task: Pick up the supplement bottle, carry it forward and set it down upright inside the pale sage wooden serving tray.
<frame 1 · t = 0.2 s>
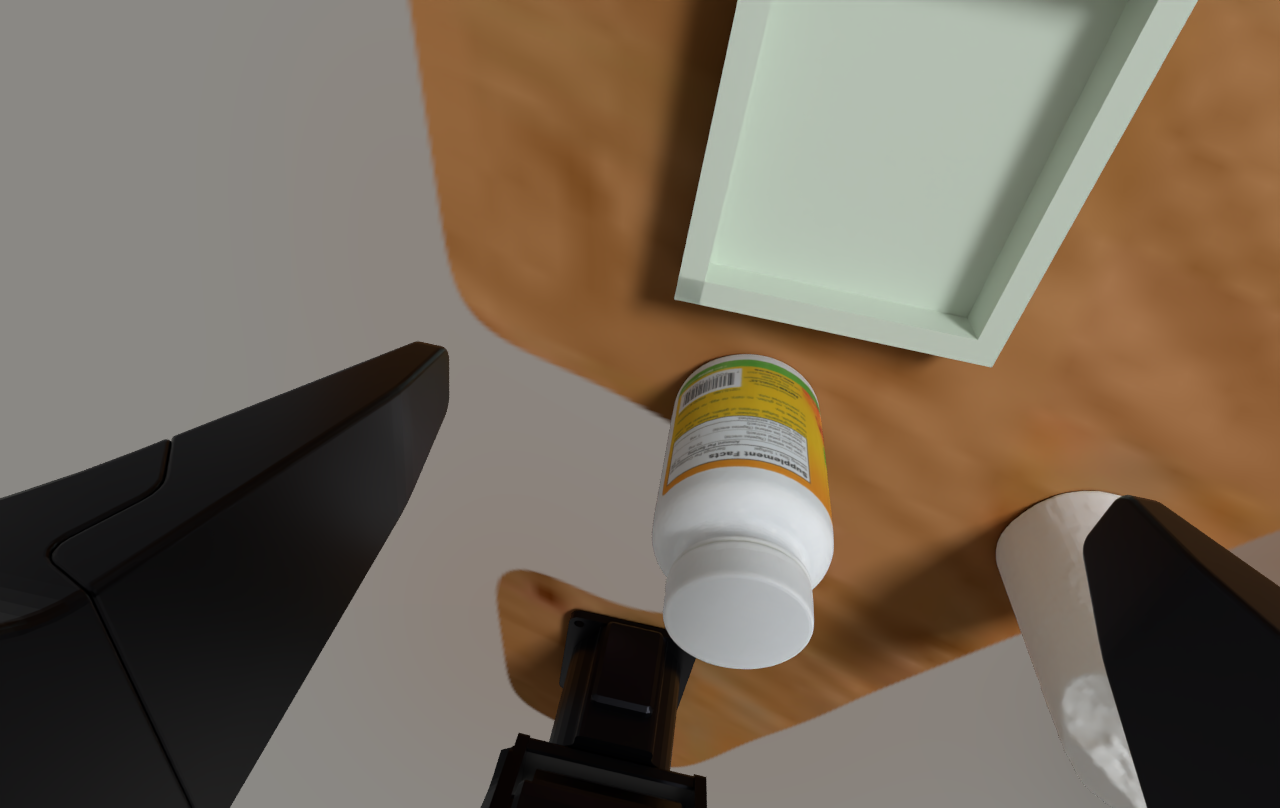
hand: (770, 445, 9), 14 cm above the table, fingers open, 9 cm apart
roll: (1070, 541, 28), on the table
supplement bottle: (746, 407, 26), on the table
tray: (888, 134, 20), on the table
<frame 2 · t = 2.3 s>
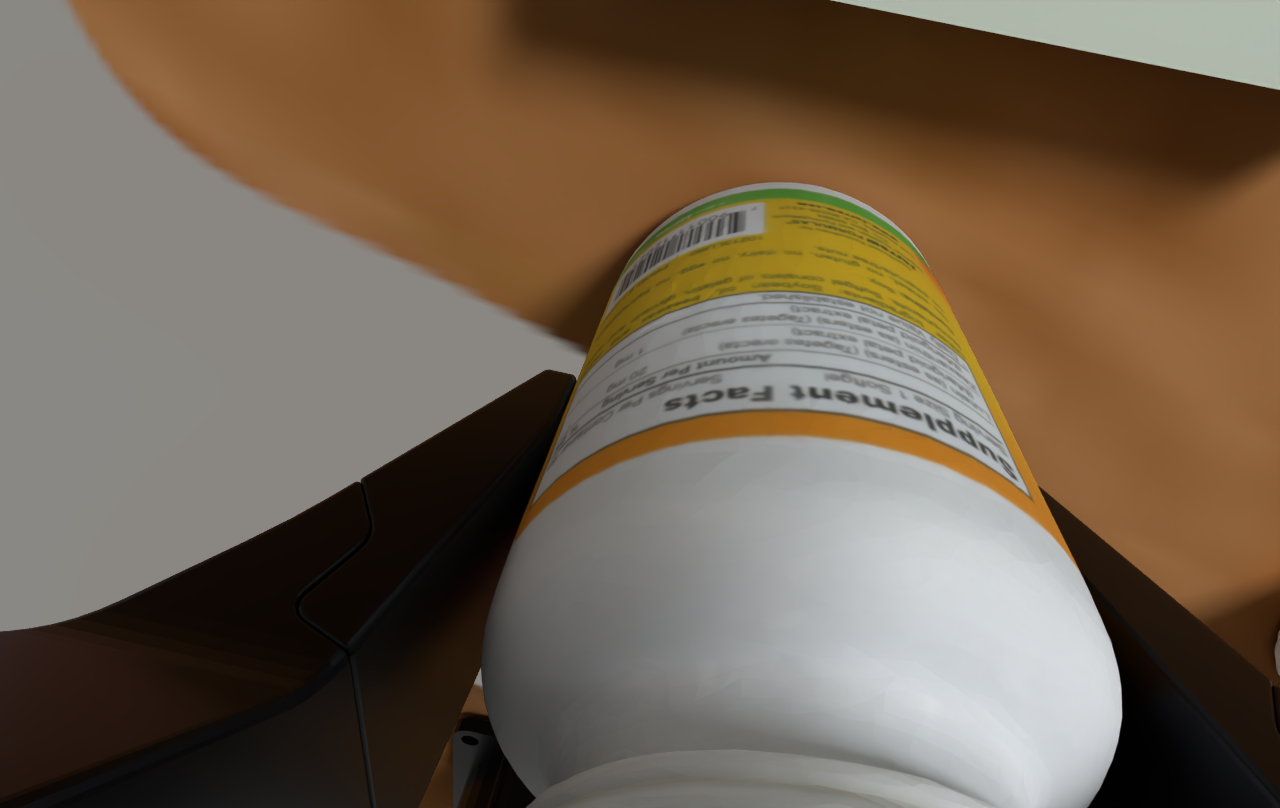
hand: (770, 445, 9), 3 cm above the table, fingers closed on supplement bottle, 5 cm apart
supplement bottle: (768, 328, 12), on the table, touching gripper
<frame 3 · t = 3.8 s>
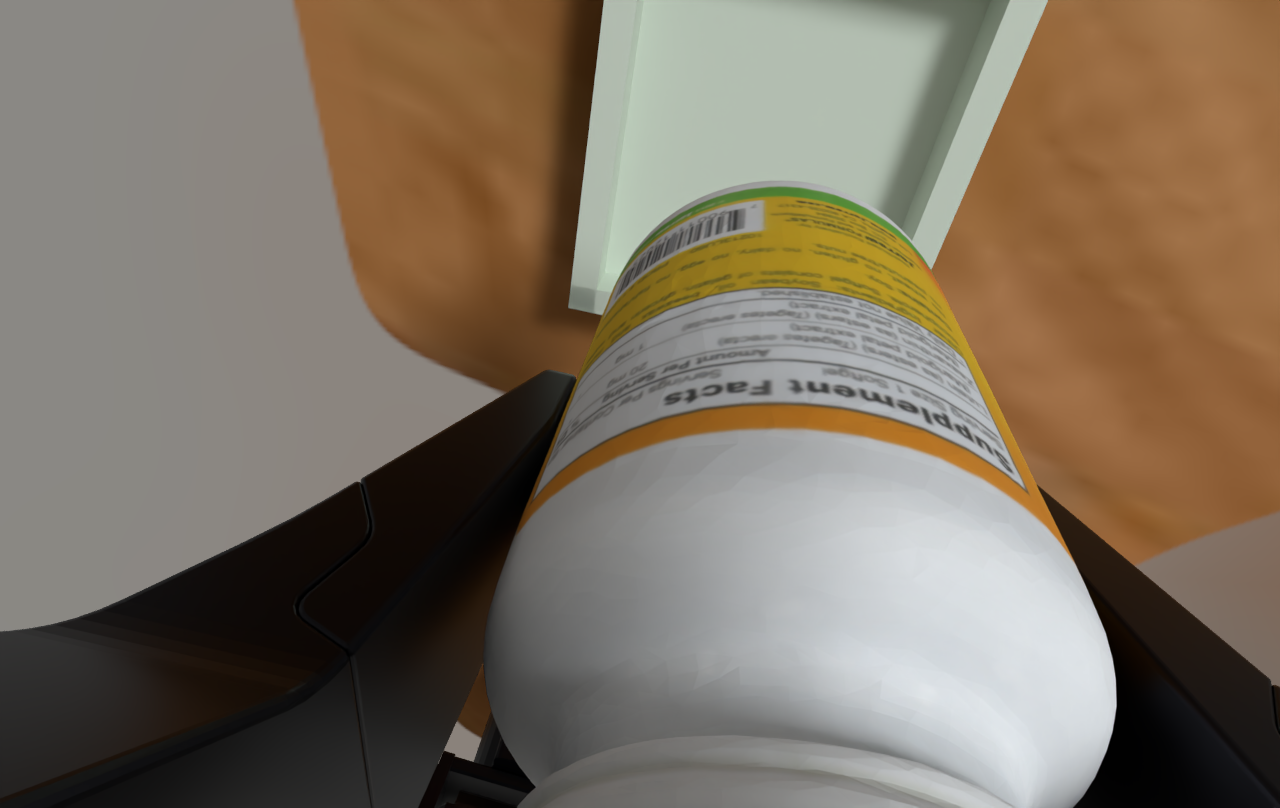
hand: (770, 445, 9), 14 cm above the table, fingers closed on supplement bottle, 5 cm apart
supplement bottle: (767, 326, 12), point 10 cm above the table, touching gripper
tray: (772, 144, 20), on the table
when the fingers open (5 cm above the table, at t = 5.7 s): supplement bottle drops 2 cm, resting on tray.
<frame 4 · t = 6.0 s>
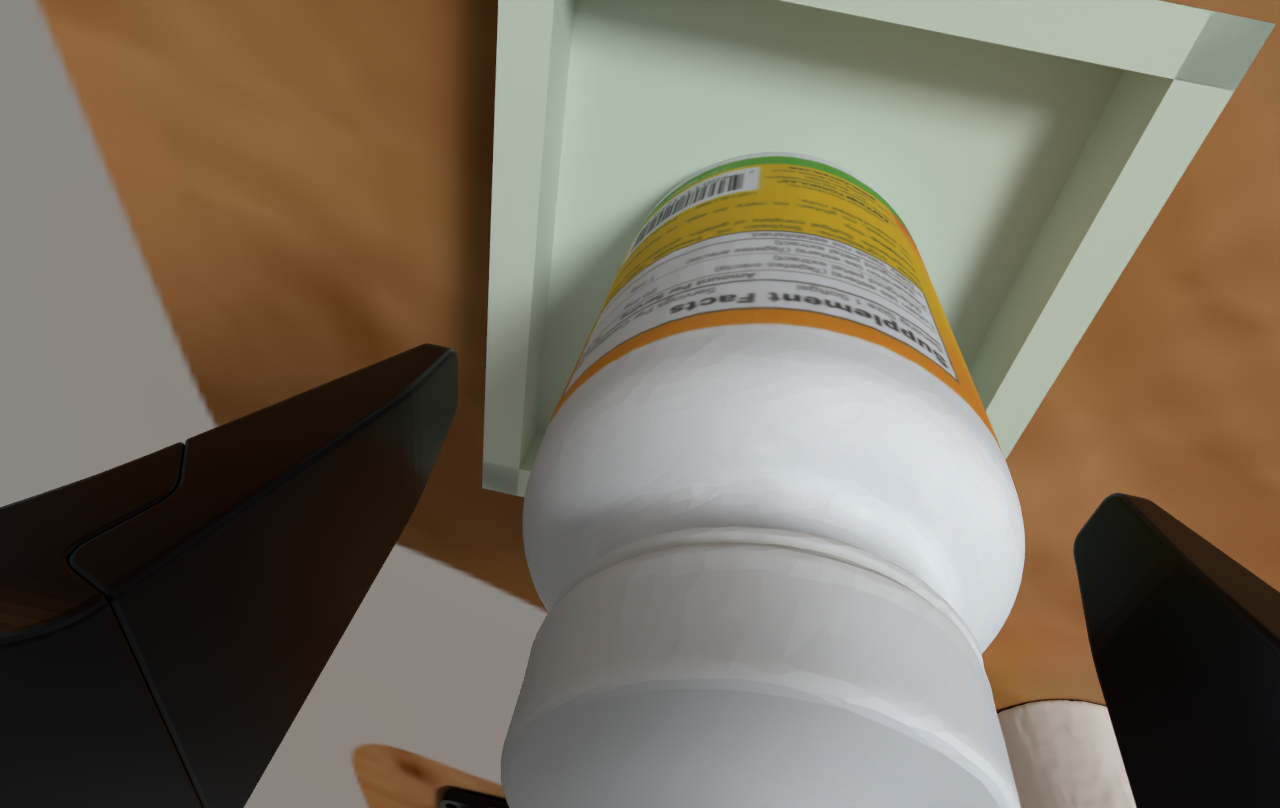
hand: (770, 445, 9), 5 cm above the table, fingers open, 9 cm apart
roll: (1049, 748, 21), on the table
supplement bottle: (767, 286, 13), resting on tray
tray: (768, 272, 14), on the table
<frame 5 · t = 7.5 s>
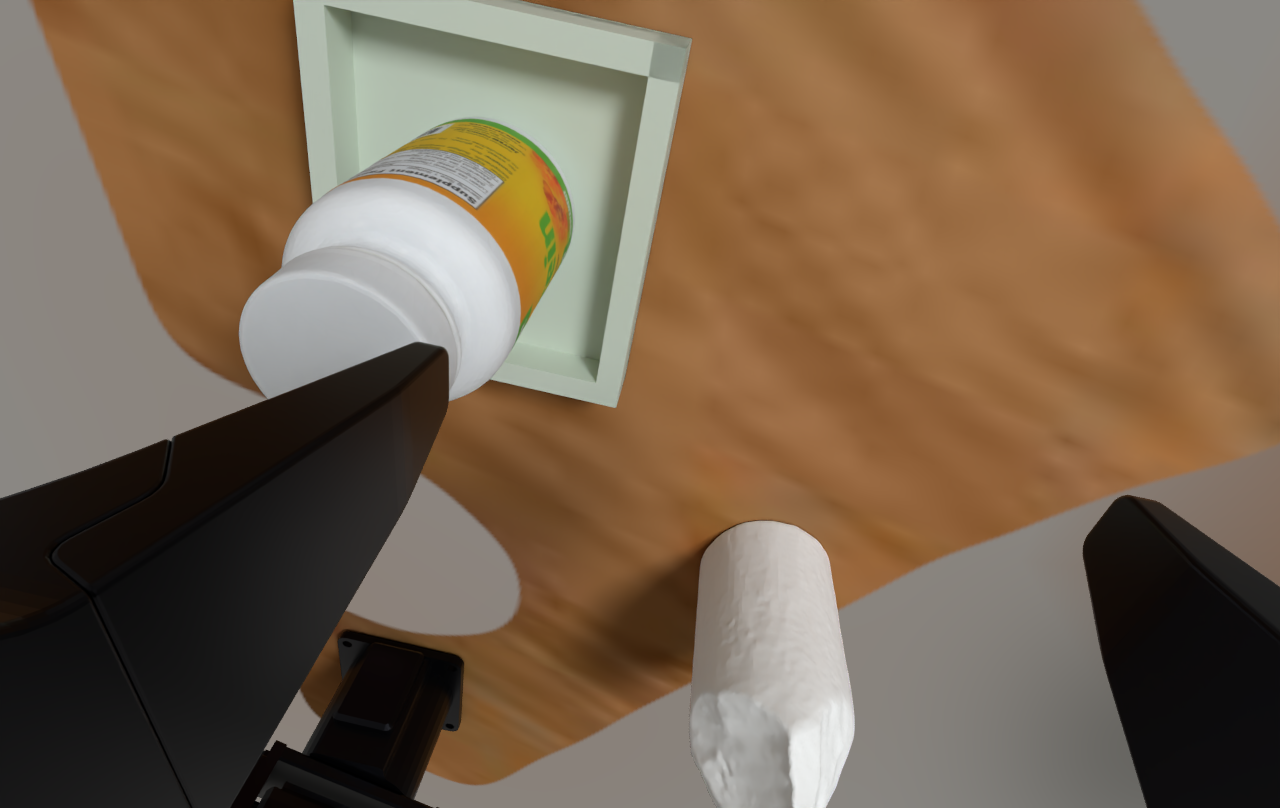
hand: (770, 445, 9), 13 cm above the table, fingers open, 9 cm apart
roll: (766, 567, 30), on the table
supplement bottle: (493, 203, 22), resting on tray
tray: (498, 197, 22), on the table
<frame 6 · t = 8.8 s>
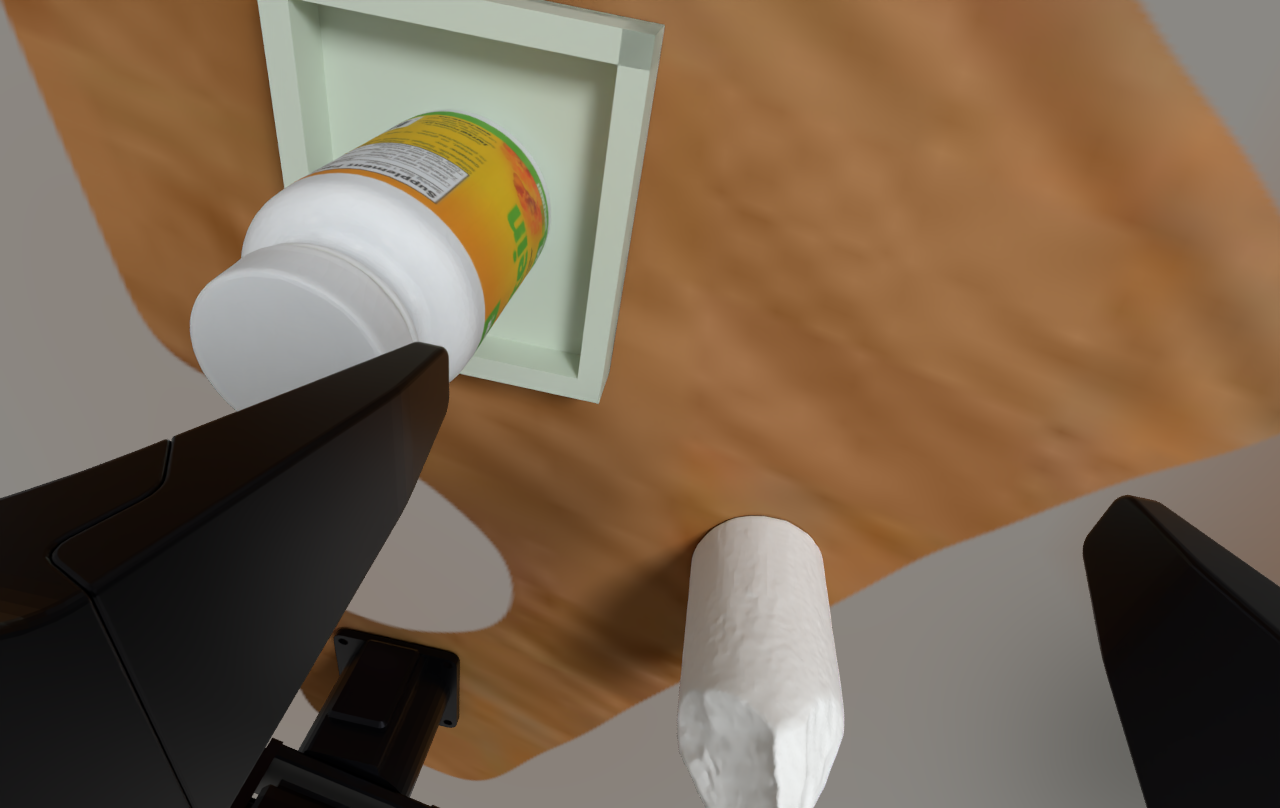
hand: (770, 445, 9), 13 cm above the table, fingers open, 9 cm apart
roll: (759, 562, 29), on the table
supplement bottle: (470, 197, 21), resting on tray
tray: (475, 191, 22), on the table
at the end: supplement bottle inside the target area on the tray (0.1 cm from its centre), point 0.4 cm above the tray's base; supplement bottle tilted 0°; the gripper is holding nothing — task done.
